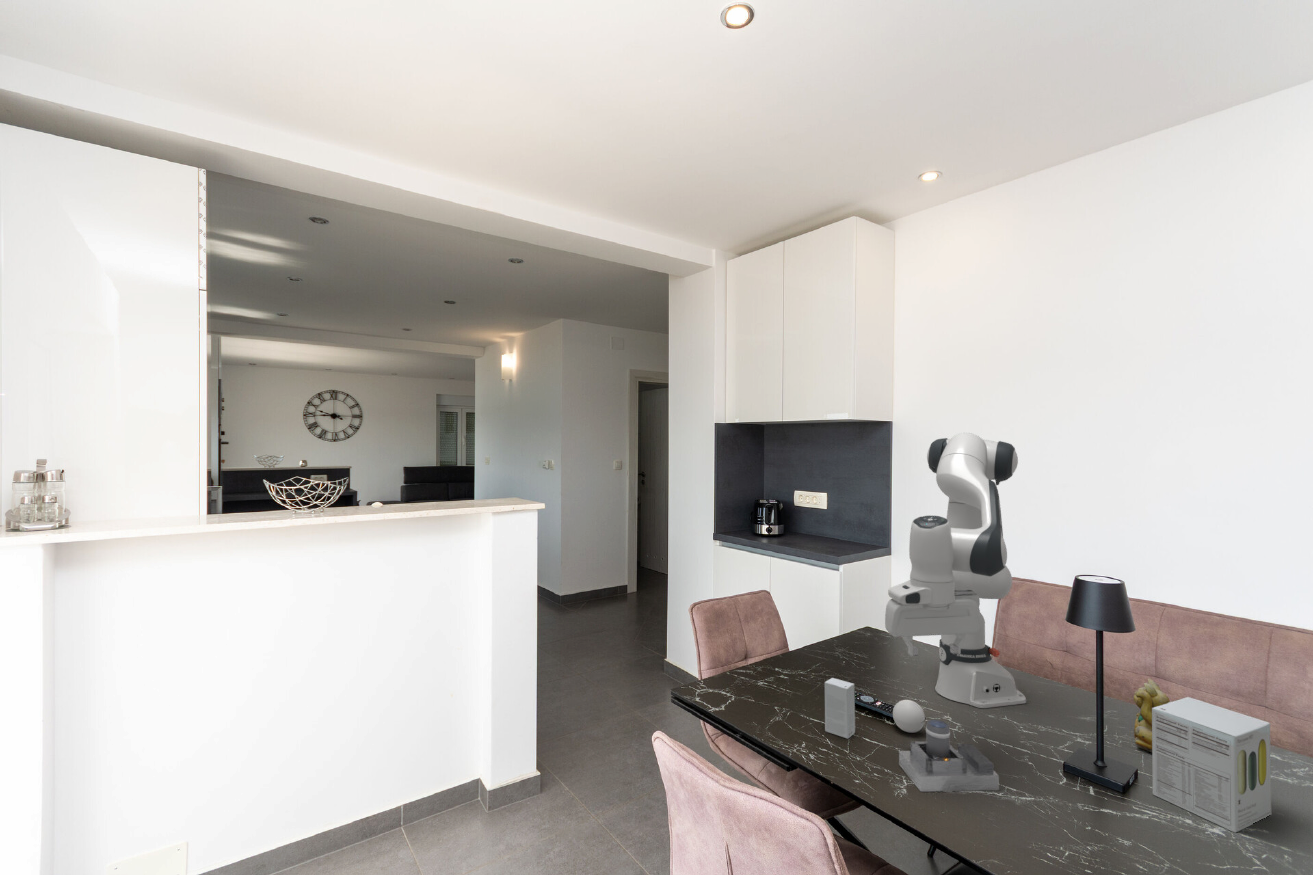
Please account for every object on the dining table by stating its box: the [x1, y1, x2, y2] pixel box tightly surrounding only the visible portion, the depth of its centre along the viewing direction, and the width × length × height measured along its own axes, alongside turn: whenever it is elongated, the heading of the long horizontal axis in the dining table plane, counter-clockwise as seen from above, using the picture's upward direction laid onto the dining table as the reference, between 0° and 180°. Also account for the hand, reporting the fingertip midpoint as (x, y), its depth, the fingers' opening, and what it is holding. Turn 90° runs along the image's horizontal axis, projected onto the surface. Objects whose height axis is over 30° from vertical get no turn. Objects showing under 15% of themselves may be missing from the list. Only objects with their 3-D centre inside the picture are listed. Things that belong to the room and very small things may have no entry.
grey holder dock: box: [898, 740, 1000, 793], centre depth 125 cm, size 16×10×6 cm, turn 91°
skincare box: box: [824, 677, 856, 739], centre depth 144 cm, size 6×4×12 cm
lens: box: [925, 719, 951, 759], centre depth 125 cm, size 5×5×8 cm
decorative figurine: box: [1133, 678, 1171, 753], centre depth 136 cm, size 10×8×15 cm
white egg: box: [892, 699, 927, 734], centre depth 146 cm, size 10×7×7 cm
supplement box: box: [1151, 696, 1272, 834], centre depth 115 cm, size 13×13×18 cm
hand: (934, 654), depth 130 cm, fingers open, 8 cm apart
